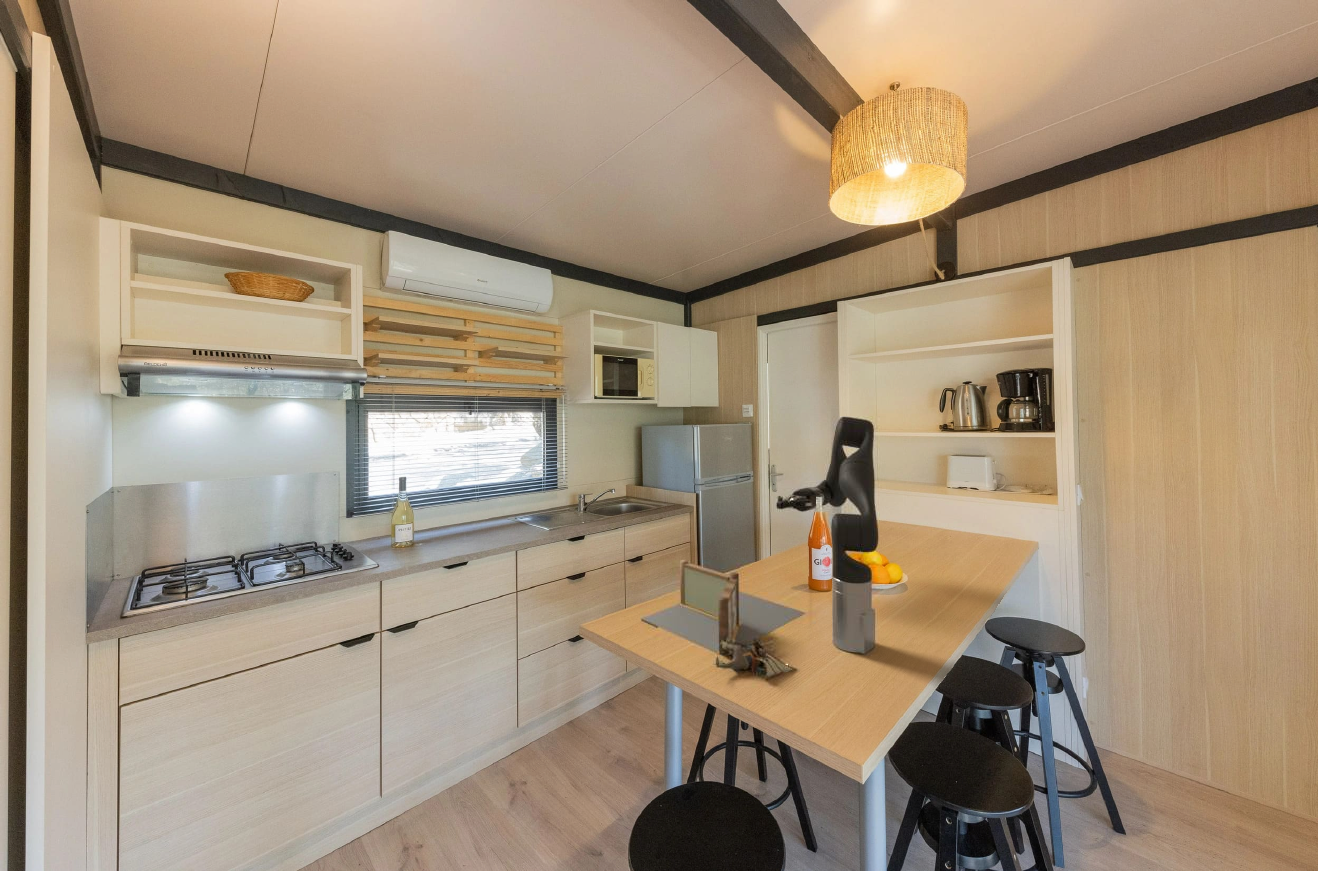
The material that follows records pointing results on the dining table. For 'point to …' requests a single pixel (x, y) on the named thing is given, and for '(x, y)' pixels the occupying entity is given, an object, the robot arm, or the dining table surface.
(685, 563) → the fence gate
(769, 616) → the card
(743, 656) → the figurine
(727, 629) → the post
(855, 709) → the dining table surface
